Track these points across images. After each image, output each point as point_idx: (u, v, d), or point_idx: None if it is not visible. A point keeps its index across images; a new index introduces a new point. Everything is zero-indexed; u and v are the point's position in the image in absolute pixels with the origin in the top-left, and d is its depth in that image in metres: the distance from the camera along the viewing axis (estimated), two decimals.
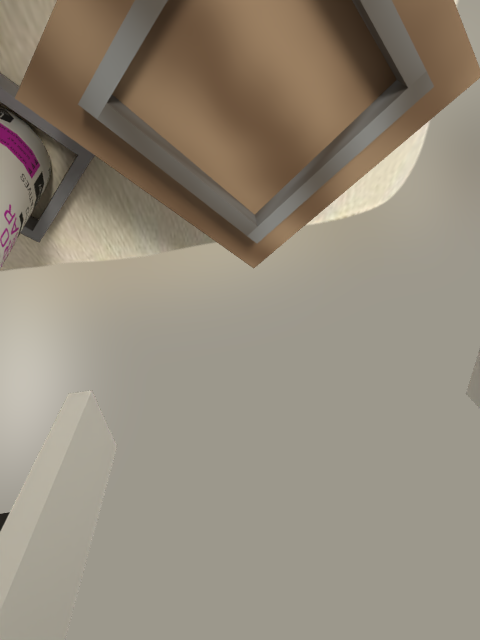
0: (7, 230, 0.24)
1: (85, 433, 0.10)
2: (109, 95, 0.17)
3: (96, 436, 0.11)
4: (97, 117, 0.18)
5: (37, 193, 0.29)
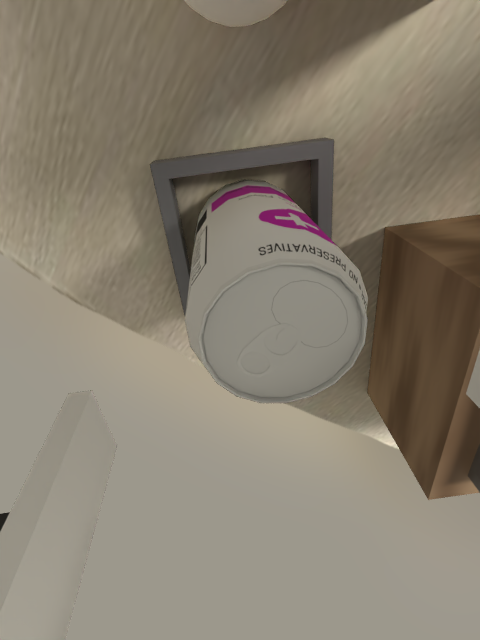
0: None
1: (85, 433, 0.10)
2: None
3: (96, 436, 0.11)
4: None
5: None
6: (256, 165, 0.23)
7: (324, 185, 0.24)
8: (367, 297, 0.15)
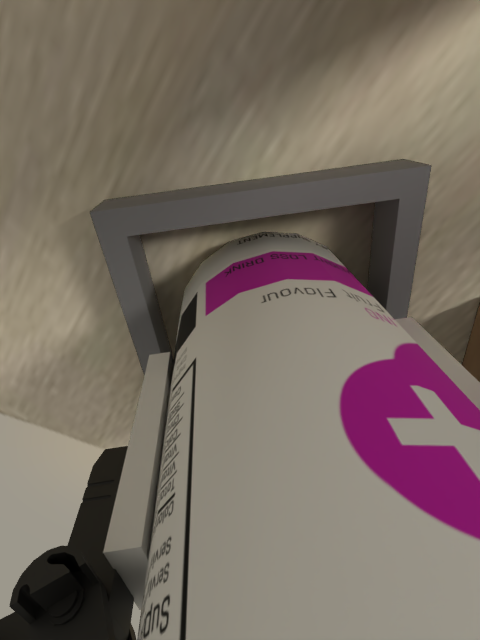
0: None
1: None
2: None
3: None
4: None
5: None
6: (287, 211, 0.12)
7: (404, 243, 0.13)
8: None
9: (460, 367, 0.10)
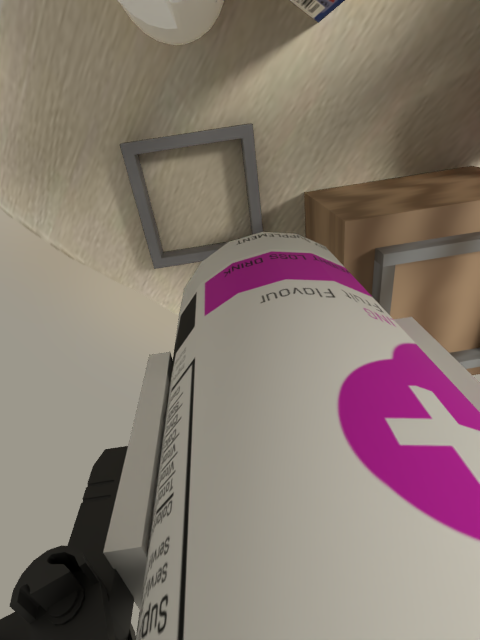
0: None
1: None
2: (400, 263, 0.26)
3: None
4: (384, 266, 0.26)
5: None
6: (197, 143, 0.31)
7: (249, 158, 0.32)
8: None
9: (460, 367, 0.10)
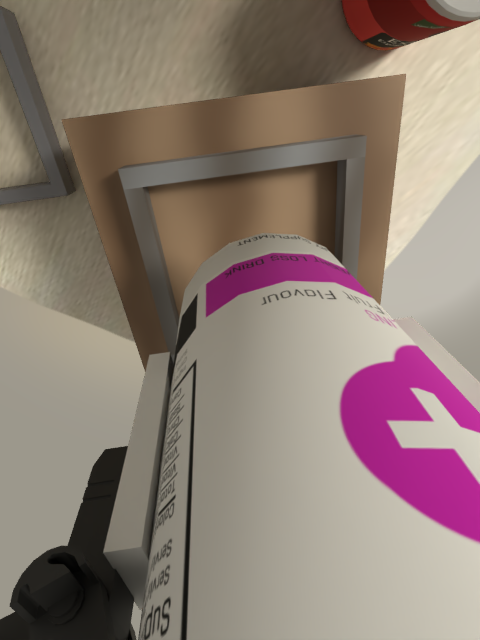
0: None
1: (170, 387, 0.11)
2: (149, 185, 0.18)
3: None
4: (125, 189, 0.18)
5: None
6: None
7: (9, 58, 0.24)
8: None
9: (460, 367, 0.10)
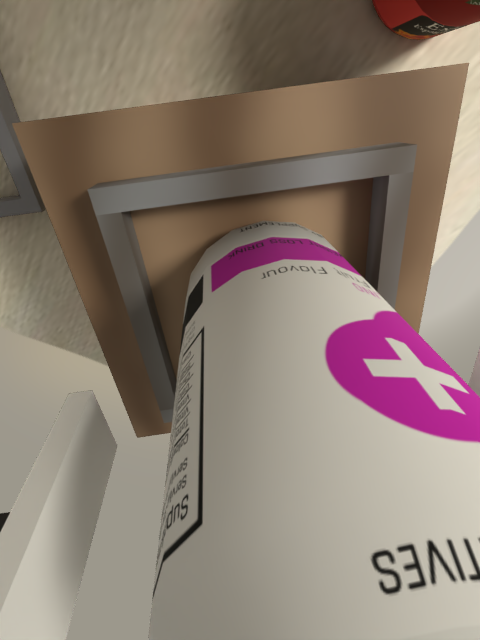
0: None
1: (85, 433, 0.10)
2: (129, 209, 0.14)
3: (96, 436, 0.11)
4: (98, 214, 0.14)
5: None
6: None
7: None
8: None
9: None
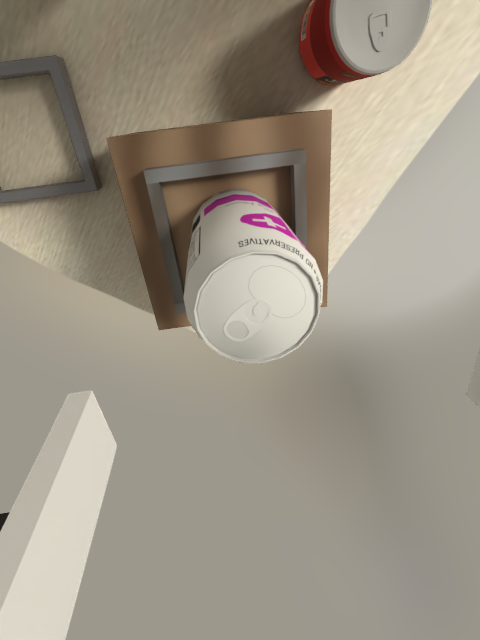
0: None
1: (85, 433, 0.10)
2: (163, 181, 0.27)
3: (96, 436, 0.11)
4: (147, 183, 0.27)
5: None
6: (4, 74, 0.32)
7: (60, 91, 0.33)
8: (322, 280, 0.20)
9: None
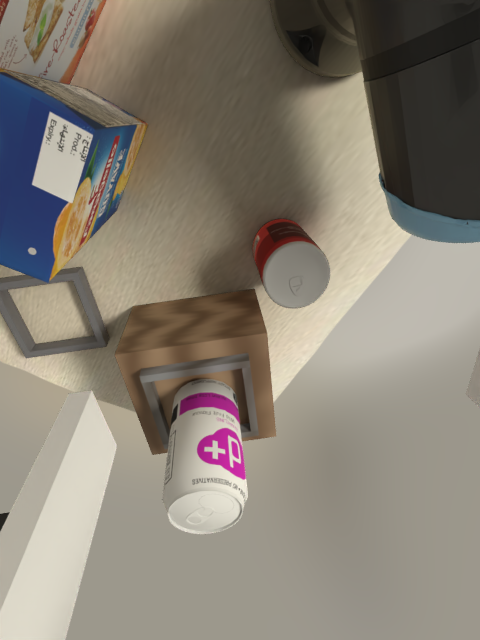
0: None
1: (85, 433, 0.10)
2: (153, 380, 0.40)
3: (96, 436, 0.11)
4: (142, 382, 0.40)
5: None
6: (41, 284, 0.45)
7: (80, 291, 0.46)
8: (246, 488, 0.33)
9: None
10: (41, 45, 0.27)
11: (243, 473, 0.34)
